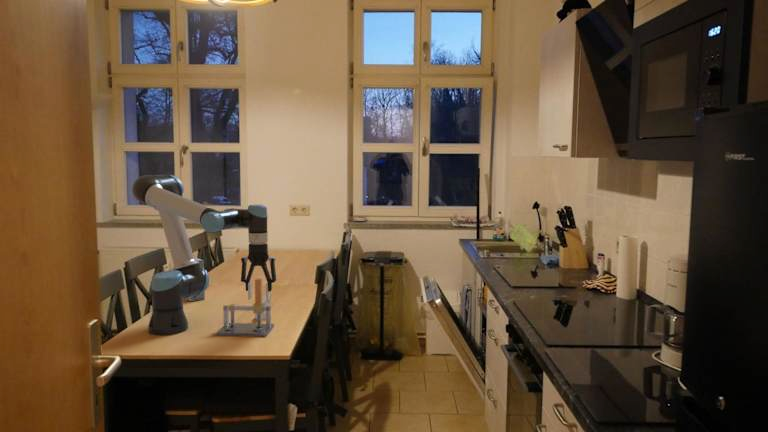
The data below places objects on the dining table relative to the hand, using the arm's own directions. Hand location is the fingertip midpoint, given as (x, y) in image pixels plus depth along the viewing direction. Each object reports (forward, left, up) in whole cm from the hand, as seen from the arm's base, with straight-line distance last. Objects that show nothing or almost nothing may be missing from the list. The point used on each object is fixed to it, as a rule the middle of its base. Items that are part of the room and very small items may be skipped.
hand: (258, 298), depth 223 cm
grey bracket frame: (-5, 0, -12) cm, 13 cm away
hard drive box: (-48, +49, -13) cm, 70 cm away
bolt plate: (-5, -2, -13) cm, 14 cm away
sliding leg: (0, 0, -11) cm, 11 cm away
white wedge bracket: (-3, +17, -13) cm, 22 cm away
